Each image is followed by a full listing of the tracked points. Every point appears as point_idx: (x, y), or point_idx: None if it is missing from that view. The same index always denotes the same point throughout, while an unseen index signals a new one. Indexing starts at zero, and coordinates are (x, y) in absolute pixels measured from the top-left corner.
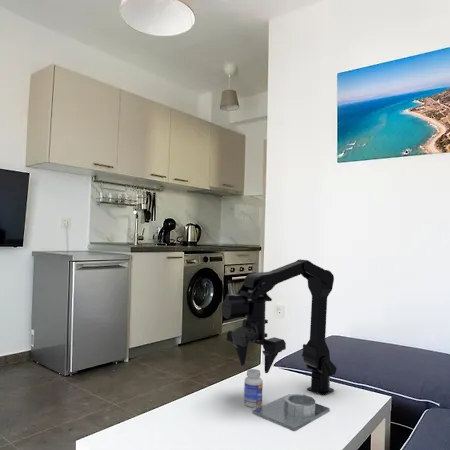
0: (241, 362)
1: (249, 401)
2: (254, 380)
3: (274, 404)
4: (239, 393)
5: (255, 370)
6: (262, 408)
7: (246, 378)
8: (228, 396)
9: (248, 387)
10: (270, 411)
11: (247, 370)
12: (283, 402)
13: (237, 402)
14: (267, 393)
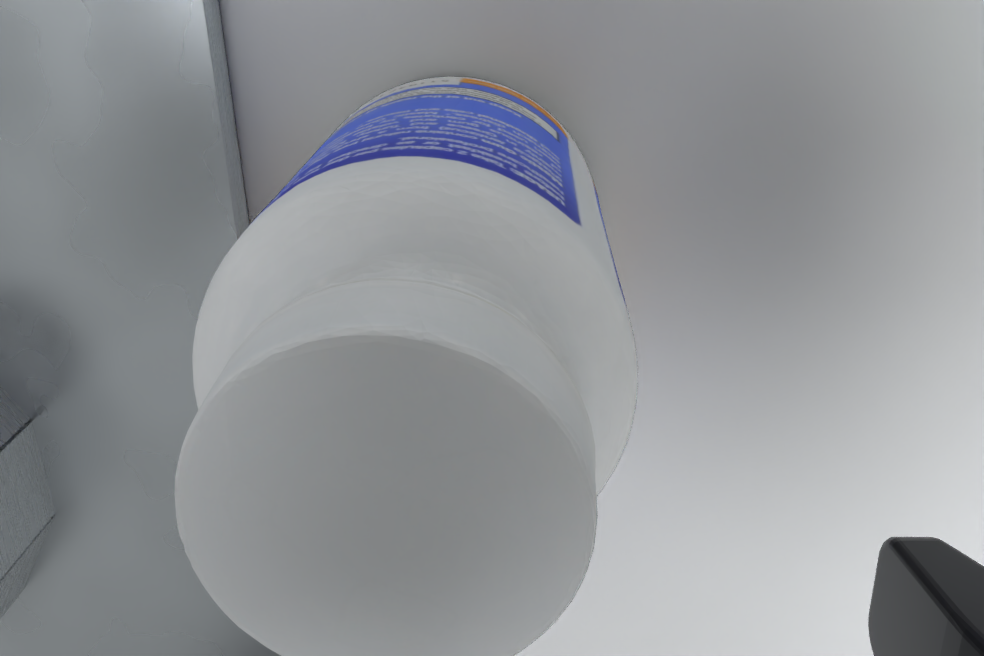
0: (948, 591)
1: (394, 95)
2: (264, 307)
3: (174, 381)
4: (878, 367)
5: (380, 594)
6: (161, 132)
7: (524, 273)
8: (951, 145)
9: (383, 141)
10: (11, 143)
11: (555, 433)
12: (154, 515)
13: (675, 77)
14: (573, 632)
